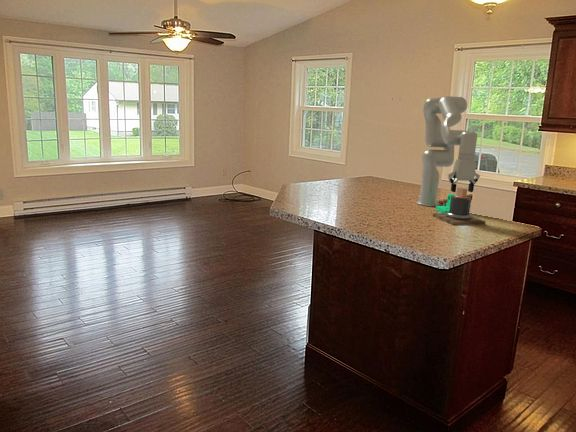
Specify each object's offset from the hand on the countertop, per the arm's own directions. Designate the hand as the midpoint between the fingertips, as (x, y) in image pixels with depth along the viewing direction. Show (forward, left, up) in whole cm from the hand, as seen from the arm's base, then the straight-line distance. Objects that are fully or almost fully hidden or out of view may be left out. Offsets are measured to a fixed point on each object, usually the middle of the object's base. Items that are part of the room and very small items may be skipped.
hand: (461, 191), depth 241 cm
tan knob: (0, 0, -7) cm, 7 cm away
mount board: (0, 0, -15) cm, 15 cm away
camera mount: (-17, +4, -15) cm, 23 cm away
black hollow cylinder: (0, 0, -13) cm, 13 cm away
